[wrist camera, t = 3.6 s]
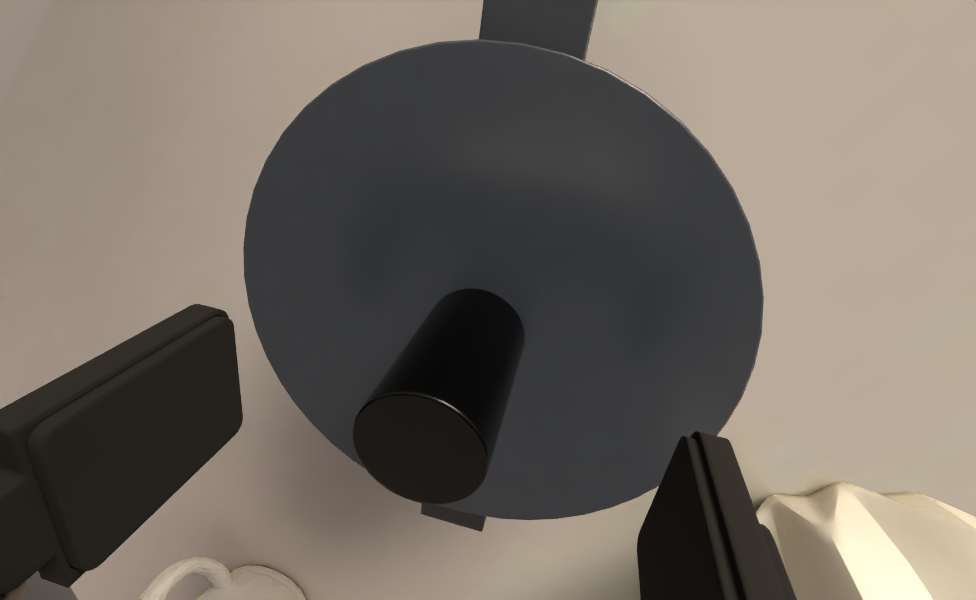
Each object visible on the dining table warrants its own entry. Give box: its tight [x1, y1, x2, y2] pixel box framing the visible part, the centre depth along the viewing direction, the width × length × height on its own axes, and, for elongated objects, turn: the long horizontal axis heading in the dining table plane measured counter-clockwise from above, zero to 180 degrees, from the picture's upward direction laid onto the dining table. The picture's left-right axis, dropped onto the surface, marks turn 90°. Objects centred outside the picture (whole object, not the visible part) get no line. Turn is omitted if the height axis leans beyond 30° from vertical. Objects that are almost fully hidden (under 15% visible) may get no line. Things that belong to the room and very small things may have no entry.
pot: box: [421, 0, 598, 532], centre depth 17 cm, size 13×18×8 cm
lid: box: [244, 39, 764, 520], centre depth 11 cm, size 14×14×6 cm
